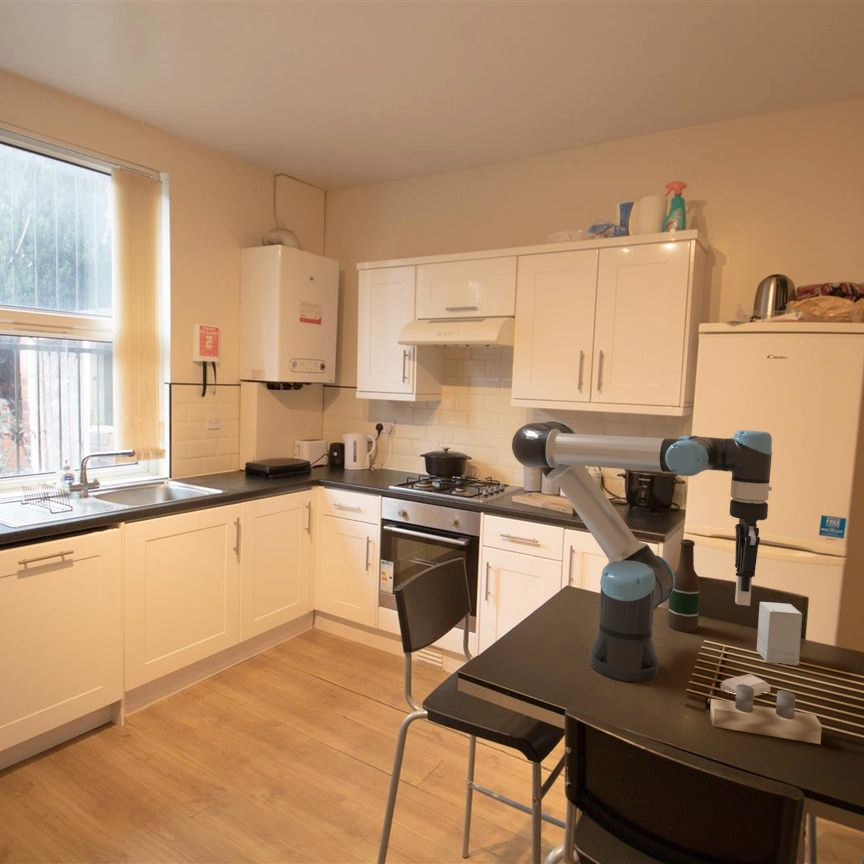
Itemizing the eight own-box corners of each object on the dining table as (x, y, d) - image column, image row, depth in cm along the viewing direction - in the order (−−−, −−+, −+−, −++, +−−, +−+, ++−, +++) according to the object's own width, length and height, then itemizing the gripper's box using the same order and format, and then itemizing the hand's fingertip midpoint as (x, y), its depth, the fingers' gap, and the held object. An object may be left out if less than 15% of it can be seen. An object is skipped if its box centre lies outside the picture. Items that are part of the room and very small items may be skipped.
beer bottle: (664, 620, 171) (669, 536, 169) (693, 623, 170) (698, 537, 168) (671, 631, 163) (676, 543, 162) (701, 634, 162) (707, 544, 161)
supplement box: (799, 666, 144) (803, 614, 143) (765, 662, 146) (769, 610, 145) (788, 653, 151) (791, 603, 151) (755, 650, 153) (758, 600, 152)
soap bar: (720, 690, 132) (721, 678, 132) (749, 683, 136) (750, 672, 135) (740, 701, 127) (741, 689, 127) (769, 694, 131) (770, 682, 131)
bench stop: (713, 726, 117) (715, 688, 116) (709, 715, 121) (712, 678, 120) (820, 744, 112) (823, 704, 111) (813, 732, 116) (816, 694, 115)
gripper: (775, 506, 129) (768, 616, 131) (760, 496, 142) (754, 596, 143) (736, 503, 131) (729, 611, 133) (725, 494, 144) (719, 592, 146)
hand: (742, 603), depth 138 cm, fingers closed
